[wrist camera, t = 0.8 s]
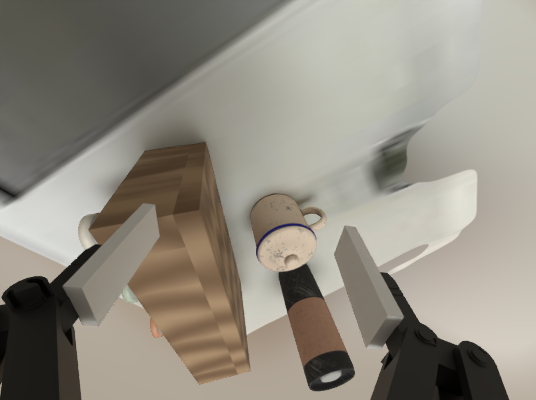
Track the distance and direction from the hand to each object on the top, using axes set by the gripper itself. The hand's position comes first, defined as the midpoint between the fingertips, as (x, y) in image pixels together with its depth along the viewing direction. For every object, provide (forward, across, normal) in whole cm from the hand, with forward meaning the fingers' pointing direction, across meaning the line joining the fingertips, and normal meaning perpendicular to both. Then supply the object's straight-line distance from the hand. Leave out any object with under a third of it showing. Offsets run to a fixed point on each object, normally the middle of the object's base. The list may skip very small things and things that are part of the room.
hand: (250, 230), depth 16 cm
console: (+18, -8, -16) cm, 25 cm away
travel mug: (+22, +10, -28) cm, 38 cm away
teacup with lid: (+21, +5, -11) cm, 24 cm away
